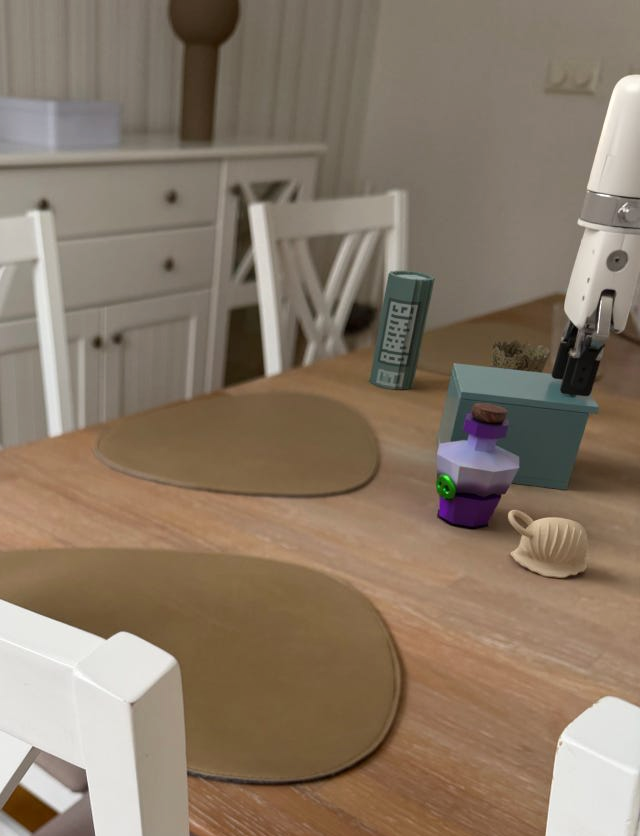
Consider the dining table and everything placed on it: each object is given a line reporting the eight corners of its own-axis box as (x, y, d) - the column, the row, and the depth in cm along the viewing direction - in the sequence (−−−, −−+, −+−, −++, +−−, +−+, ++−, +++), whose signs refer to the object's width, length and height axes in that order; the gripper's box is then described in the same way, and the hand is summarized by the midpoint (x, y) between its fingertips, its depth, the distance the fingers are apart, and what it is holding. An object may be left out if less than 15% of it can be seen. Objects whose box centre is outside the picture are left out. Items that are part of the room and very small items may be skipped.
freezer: (550, 454, 120) (570, 383, 116) (566, 490, 111) (589, 413, 106) (436, 440, 122) (452, 370, 117) (442, 474, 112) (459, 398, 108)
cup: (469, 401, 137) (483, 343, 133) (497, 392, 141) (511, 336, 137) (517, 416, 132) (533, 357, 128) (544, 407, 137) (560, 349, 133)
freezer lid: (577, 383, 116) (590, 339, 113) (597, 414, 106) (611, 366, 103) (452, 369, 117) (461, 325, 115) (459, 398, 108) (470, 351, 105)
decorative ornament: (587, 584, 91) (605, 531, 88) (495, 568, 92) (509, 516, 90) (583, 565, 94) (599, 514, 92) (494, 550, 96) (507, 500, 93)
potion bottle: (406, 516, 102) (430, 403, 95) (443, 494, 107) (468, 386, 101) (484, 543, 97) (515, 427, 91) (518, 519, 103) (549, 408, 97)
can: (415, 380, 144) (436, 274, 136) (409, 392, 139) (431, 282, 131) (374, 374, 146) (393, 268, 138) (366, 384, 141) (386, 276, 133)
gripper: (679, 229, 93) (620, 414, 103) (637, 205, 108) (589, 369, 117) (598, 222, 94) (547, 405, 104) (567, 199, 109) (525, 362, 118)
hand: (570, 384), depth 110 cm, fingers closed on freezer lid, 5 cm apart
